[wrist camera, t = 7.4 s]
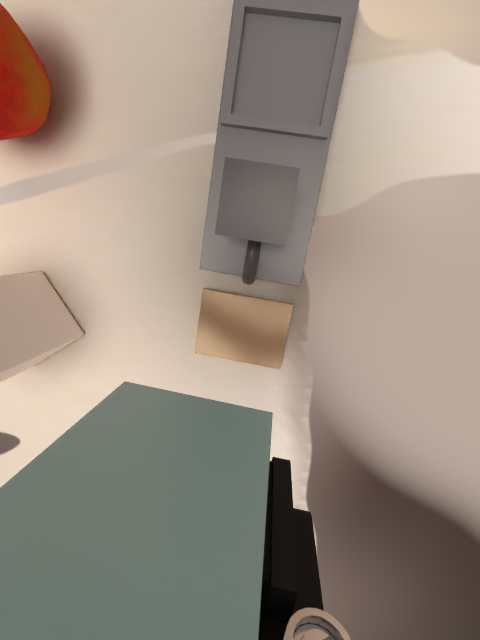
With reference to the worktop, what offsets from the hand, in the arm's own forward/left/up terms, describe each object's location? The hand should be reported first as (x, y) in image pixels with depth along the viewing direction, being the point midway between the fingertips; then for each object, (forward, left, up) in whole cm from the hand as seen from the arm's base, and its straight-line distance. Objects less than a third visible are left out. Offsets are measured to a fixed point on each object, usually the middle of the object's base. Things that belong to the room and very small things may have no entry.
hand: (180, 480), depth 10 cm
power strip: (-17, 0, -20) cm, 26 cm away
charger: (0, 0, -1) cm, 1 cm away
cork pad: (0, 0, -20) cm, 20 cm away
